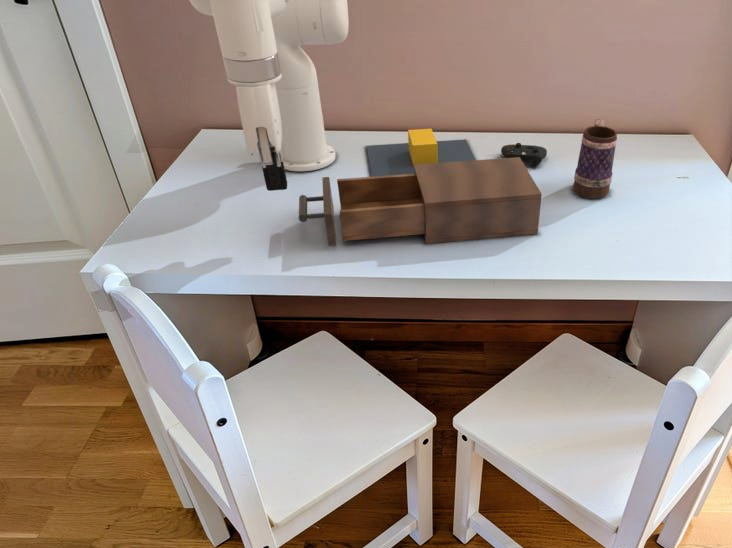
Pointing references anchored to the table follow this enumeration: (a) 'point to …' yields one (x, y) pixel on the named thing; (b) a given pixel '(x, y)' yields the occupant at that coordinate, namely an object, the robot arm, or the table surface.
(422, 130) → the sponge
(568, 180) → the table surface
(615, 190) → the table surface
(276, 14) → the robot arm
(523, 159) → the game controller
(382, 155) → the mat
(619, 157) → the table surface
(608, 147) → the brown purple cylinder
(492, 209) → the cabinet
